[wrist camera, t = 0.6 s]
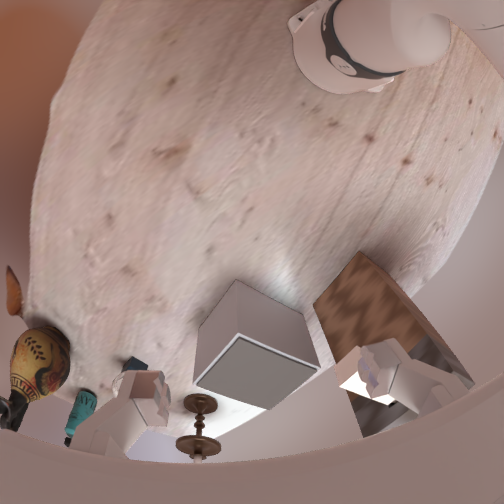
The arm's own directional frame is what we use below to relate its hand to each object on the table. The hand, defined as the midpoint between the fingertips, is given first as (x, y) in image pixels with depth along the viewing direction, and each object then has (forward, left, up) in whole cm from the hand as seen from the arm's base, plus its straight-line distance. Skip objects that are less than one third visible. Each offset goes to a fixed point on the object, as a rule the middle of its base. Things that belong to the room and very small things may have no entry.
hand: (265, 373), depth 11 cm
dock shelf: (+22, +17, -37) cm, 46 cm away
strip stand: (+5, +30, -37) cm, 48 cm away
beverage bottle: (+73, -6, -37) cm, 82 cm away
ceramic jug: (+57, -20, -37) cm, 71 cm away
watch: (+49, +2, -37) cm, 62 cm away
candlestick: (+53, +22, -37) cm, 69 cm away
